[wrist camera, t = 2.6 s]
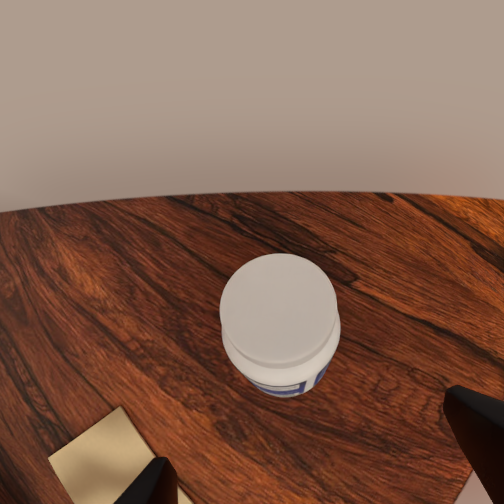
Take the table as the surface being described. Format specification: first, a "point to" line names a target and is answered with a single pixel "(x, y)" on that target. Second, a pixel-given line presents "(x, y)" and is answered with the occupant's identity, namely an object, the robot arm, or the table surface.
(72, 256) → the table surface
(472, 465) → the robot arm
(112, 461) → the sticky note
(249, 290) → the pill bottle
